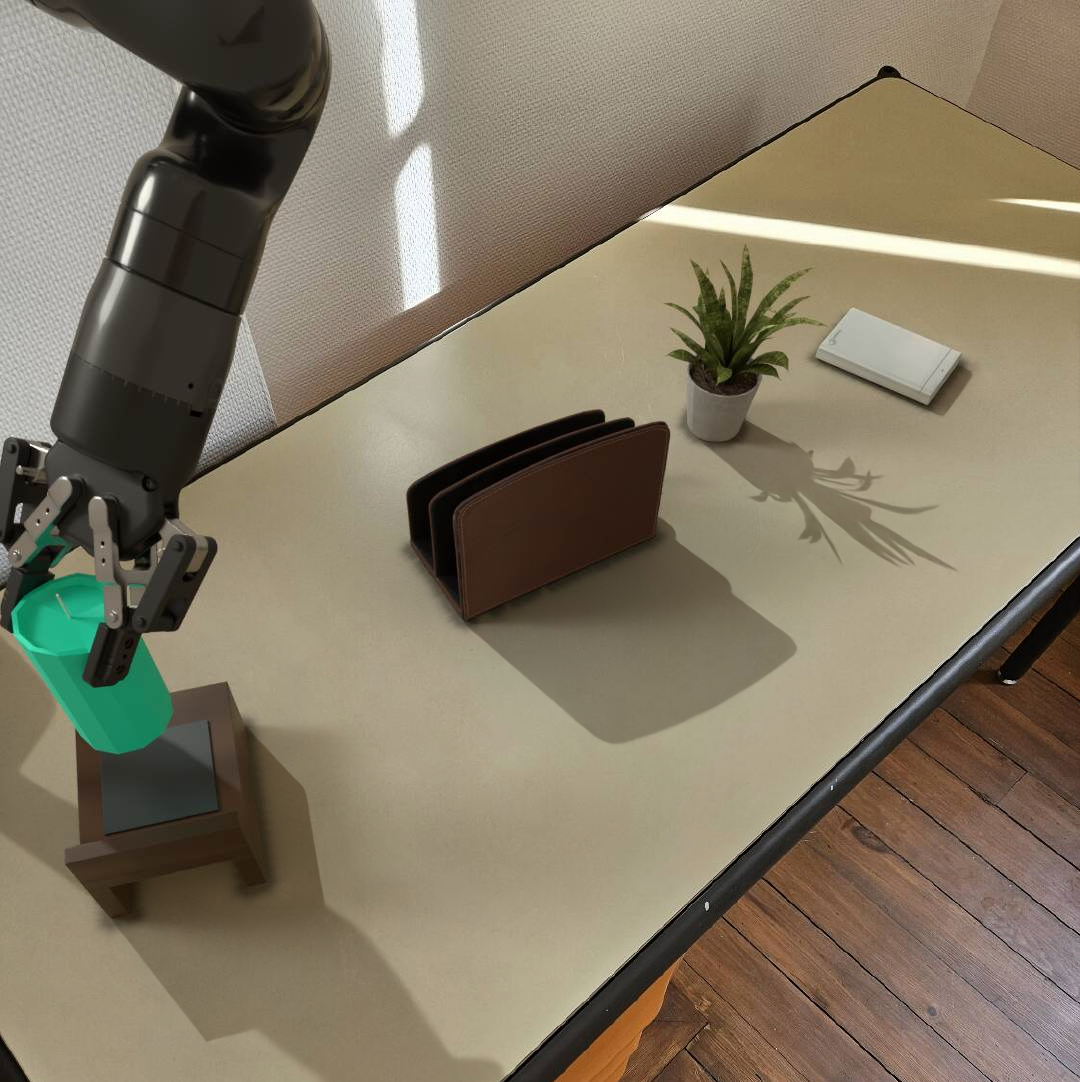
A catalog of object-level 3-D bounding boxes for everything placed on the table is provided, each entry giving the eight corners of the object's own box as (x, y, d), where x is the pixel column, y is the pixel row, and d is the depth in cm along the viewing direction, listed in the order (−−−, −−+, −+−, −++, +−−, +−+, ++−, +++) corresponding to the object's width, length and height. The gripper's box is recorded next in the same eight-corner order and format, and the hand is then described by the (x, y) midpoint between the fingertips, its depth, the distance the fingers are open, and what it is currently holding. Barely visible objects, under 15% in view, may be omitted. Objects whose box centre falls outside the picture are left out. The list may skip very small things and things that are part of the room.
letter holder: (657, 537, 95) (677, 415, 83) (463, 624, 89) (456, 506, 78) (597, 469, 100) (609, 343, 88) (409, 547, 94) (394, 424, 82)
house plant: (820, 406, 105) (866, 256, 91) (771, 494, 98) (813, 347, 85) (687, 360, 108) (713, 210, 95) (631, 443, 102) (650, 294, 88)
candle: (69, 756, 66) (-12, 641, 56) (85, 677, 69) (12, 554, 59) (167, 752, 66) (104, 637, 56) (178, 673, 70) (121, 551, 59)
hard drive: (818, 346, 108) (931, 394, 104) (853, 305, 111) (964, 350, 108) (814, 359, 109) (926, 407, 105) (849, 318, 113) (958, 363, 109)
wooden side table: (101, 753, 82) (59, 688, 74) (244, 724, 84) (217, 657, 76) (110, 918, 75) (64, 864, 67) (266, 882, 76) (239, 825, 69)
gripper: (-8, 304, 54) (-87, 601, 59) (202, 416, 50) (98, 725, 55) (103, 336, 61) (24, 600, 65) (295, 436, 57) (196, 710, 61)
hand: (58, 655), depth 60 cm, fingers closed on candle, 6 cm apart
